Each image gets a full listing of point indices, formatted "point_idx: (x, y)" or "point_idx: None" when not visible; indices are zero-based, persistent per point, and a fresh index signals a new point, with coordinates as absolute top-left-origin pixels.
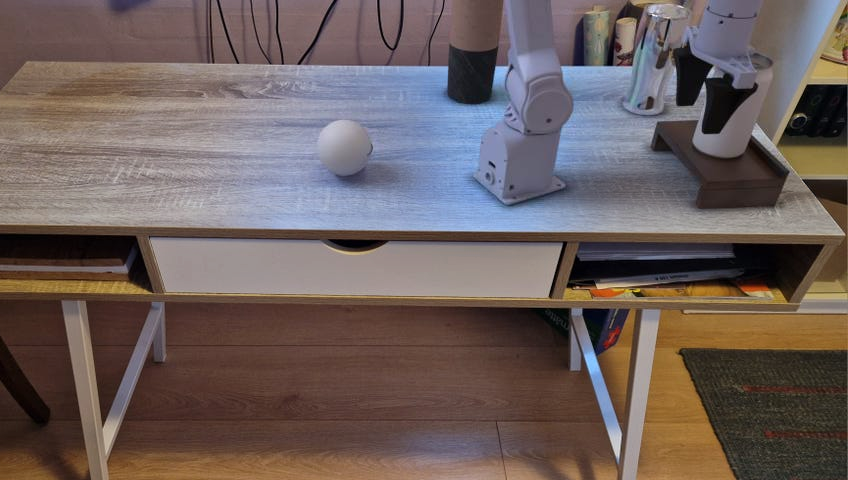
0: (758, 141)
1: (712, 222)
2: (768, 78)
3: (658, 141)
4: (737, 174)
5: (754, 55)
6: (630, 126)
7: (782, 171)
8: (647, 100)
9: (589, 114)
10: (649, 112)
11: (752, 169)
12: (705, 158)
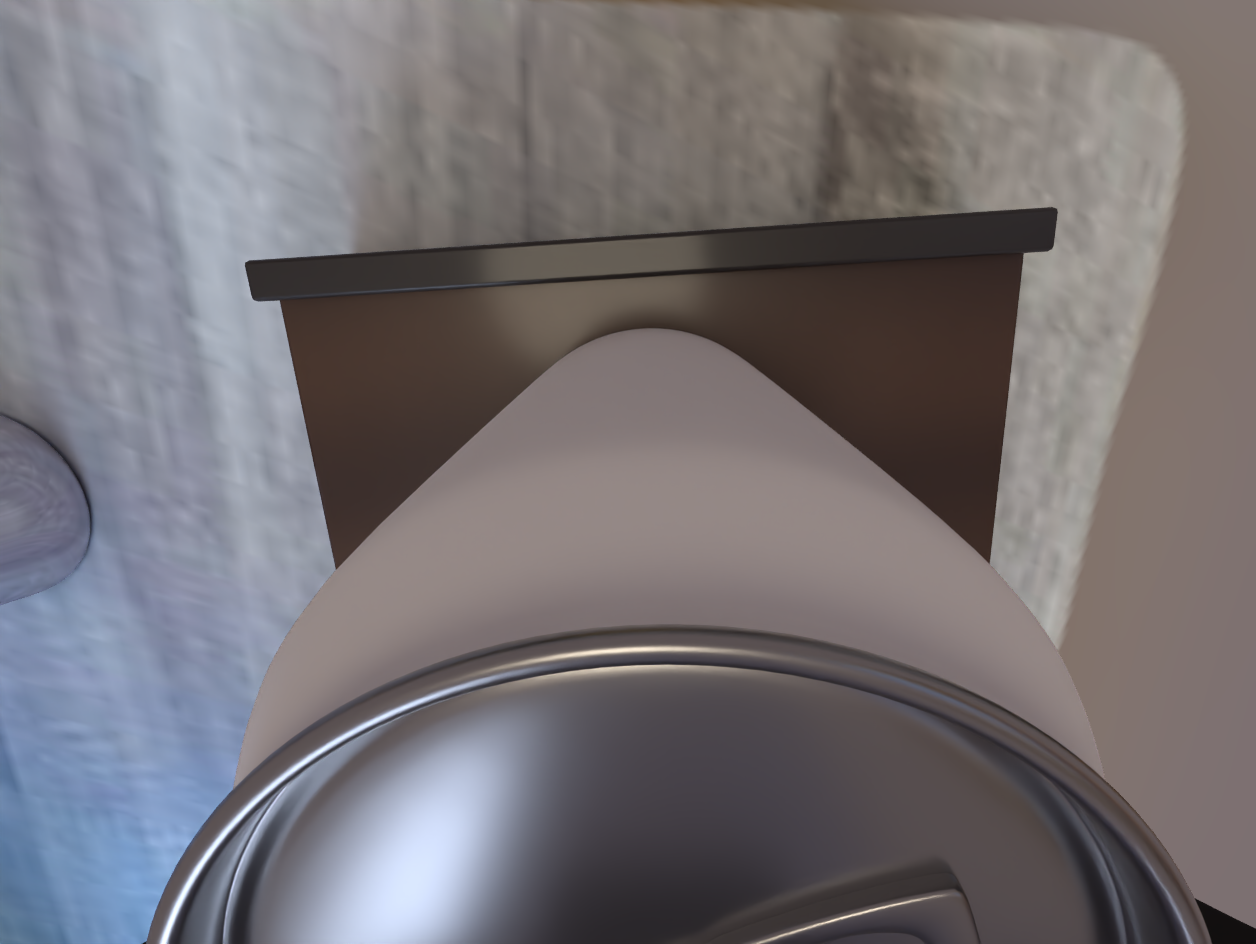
0: (662, 237)
1: (1015, 553)
2: (1071, 680)
3: None
4: (942, 478)
5: (287, 786)
6: (221, 614)
7: (1036, 251)
8: (13, 555)
9: (134, 743)
10: (75, 510)
11: (904, 375)
12: None
